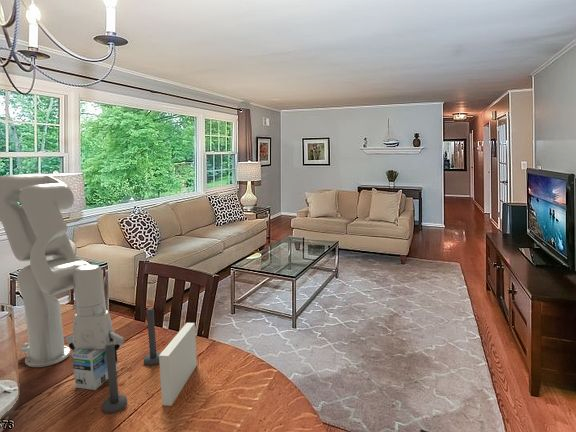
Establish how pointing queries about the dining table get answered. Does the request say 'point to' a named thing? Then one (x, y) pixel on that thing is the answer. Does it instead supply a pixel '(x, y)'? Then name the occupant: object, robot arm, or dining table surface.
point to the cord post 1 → (113, 384)
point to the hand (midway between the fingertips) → (97, 364)
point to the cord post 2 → (151, 341)
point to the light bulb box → (90, 368)
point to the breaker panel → (177, 363)
